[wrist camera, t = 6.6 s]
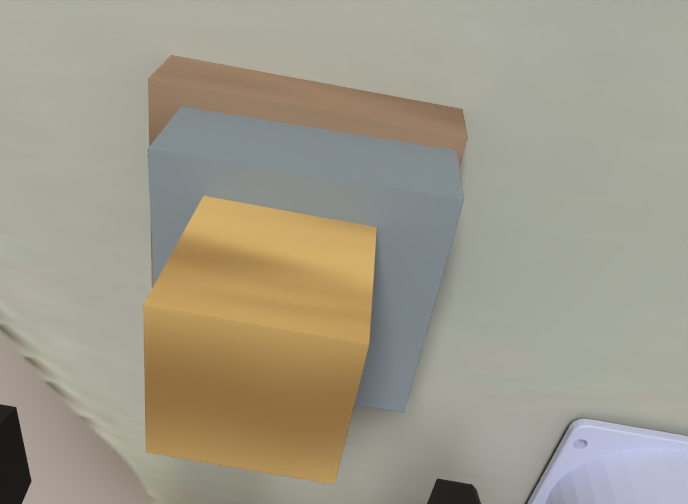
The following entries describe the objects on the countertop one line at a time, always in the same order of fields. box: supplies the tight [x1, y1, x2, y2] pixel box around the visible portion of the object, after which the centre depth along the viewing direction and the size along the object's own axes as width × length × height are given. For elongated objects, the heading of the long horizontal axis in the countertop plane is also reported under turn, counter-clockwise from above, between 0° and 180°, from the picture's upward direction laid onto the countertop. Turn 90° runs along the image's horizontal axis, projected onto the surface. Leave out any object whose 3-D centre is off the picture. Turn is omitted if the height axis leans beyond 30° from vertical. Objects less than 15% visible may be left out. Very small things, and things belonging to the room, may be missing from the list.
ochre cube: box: [143, 196, 377, 484], centre depth 14 cm, size 4×4×4 cm
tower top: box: [148, 106, 464, 413], centre depth 17 cm, size 7×7×2 cm
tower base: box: [148, 55, 468, 288], centre depth 19 cm, size 8×8×2 cm
